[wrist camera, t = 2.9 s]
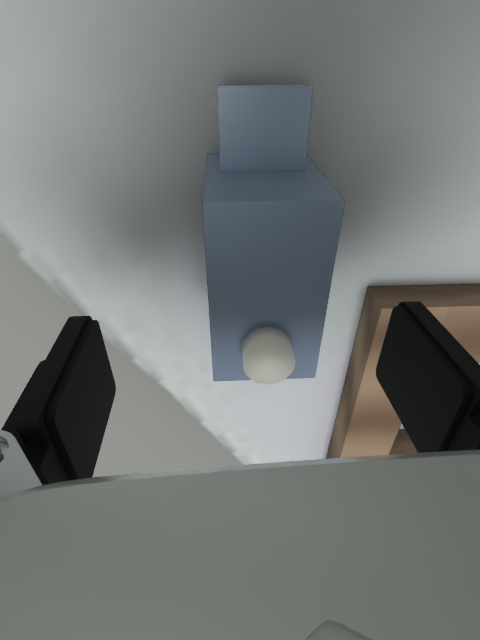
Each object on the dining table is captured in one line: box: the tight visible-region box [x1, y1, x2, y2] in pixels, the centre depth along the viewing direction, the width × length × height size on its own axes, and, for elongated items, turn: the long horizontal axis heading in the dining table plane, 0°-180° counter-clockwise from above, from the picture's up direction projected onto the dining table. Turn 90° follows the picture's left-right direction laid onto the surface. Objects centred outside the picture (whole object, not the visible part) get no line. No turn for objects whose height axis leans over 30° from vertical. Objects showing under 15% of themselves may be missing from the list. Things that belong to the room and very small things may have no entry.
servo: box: [202, 85, 345, 384], centre depth 14 cm, size 12×4×7 cm, turn 0°
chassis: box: [327, 284, 480, 459], centre depth 23 cm, size 16×12×2 cm
